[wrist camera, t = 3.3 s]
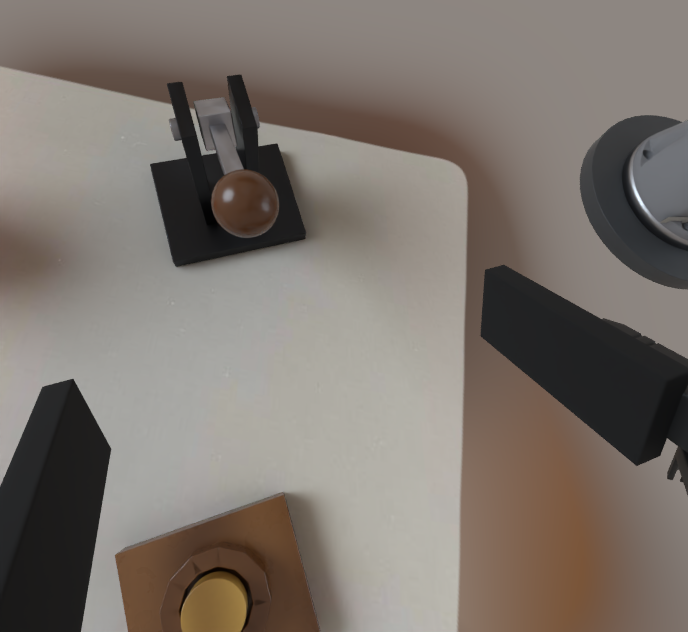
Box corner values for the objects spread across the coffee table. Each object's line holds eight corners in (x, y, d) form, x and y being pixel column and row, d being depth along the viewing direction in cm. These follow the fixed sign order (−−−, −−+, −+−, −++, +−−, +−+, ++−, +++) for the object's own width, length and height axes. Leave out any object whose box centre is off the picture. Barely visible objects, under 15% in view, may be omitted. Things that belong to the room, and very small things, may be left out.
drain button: (239, 561, 30) (237, 568, 28) (254, 625, 29) (253, 636, 27) (179, 584, 29) (174, 593, 27) (193, 650, 28) (188, 664, 26)
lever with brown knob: (289, 242, 24) (282, 184, 21) (224, 257, 23) (209, 197, 21) (241, 136, 33) (232, 86, 31) (193, 144, 32) (180, 93, 30)
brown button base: (283, 491, 35) (284, 497, 31) (319, 627, 32) (325, 651, 29) (124, 547, 32) (105, 561, 28) (152, 700, 30) (134, 738, 26)
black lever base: (305, 238, 41) (319, 153, 29) (175, 267, 38) (131, 185, 26) (277, 151, 44) (279, 37, 31) (153, 171, 41) (103, 55, 29)
